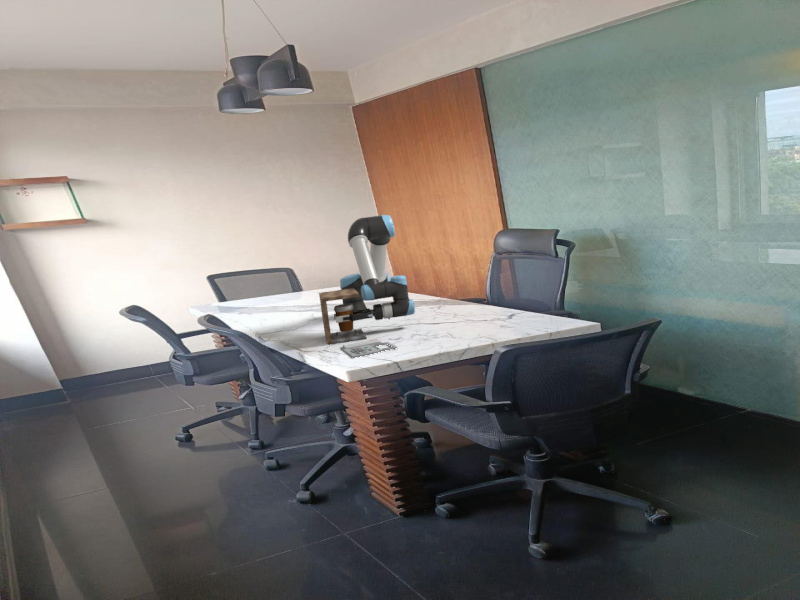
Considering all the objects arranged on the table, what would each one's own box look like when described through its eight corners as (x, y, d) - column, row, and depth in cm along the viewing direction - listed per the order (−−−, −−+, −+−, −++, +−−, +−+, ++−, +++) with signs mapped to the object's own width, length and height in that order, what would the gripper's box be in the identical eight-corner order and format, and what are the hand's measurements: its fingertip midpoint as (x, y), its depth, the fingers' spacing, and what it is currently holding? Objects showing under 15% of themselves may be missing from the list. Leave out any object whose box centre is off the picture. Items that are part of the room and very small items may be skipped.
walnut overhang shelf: (361, 330, 333) (355, 287, 330) (366, 339, 312) (360, 293, 308) (325, 336, 331) (319, 292, 327) (327, 345, 309) (321, 298, 306)
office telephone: (339, 344, 299) (381, 336, 305) (339, 350, 299) (382, 341, 305) (352, 353, 277) (398, 344, 283) (353, 359, 277) (399, 350, 283)
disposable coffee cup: (340, 333, 315) (337, 308, 313) (334, 330, 323) (330, 306, 321) (359, 329, 318) (356, 304, 316) (352, 327, 327) (349, 302, 325)
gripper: (386, 322, 313) (337, 329, 309) (380, 315, 333) (334, 322, 330) (384, 306, 312) (335, 313, 308) (378, 300, 332) (332, 307, 329)
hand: (335, 318), depth 319 cm, fingers closed on disposable coffee cup, 8 cm apart
